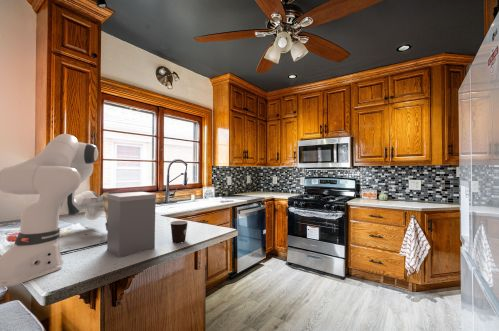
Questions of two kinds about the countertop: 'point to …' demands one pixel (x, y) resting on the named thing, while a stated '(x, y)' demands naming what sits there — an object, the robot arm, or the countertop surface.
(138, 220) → the case
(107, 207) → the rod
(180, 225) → the coffee mug
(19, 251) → the robot arm
